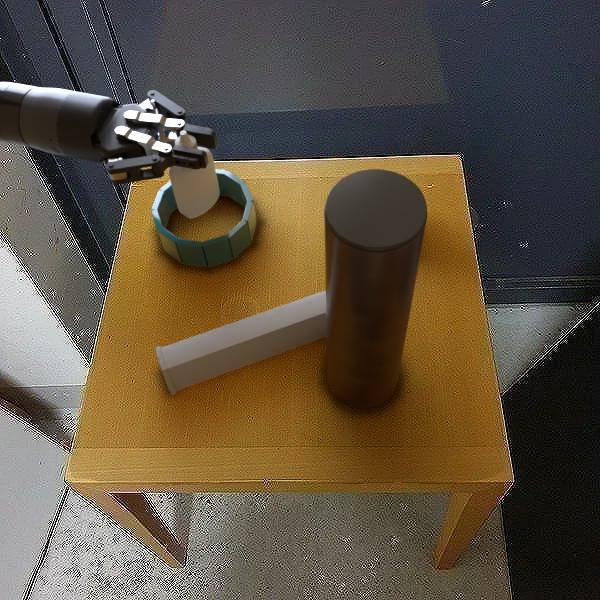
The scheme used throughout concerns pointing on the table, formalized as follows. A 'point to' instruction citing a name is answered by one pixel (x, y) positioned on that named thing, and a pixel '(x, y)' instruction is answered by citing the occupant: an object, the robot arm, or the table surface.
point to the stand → (370, 281)
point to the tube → (243, 342)
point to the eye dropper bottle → (194, 182)
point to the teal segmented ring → (217, 247)
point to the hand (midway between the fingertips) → (210, 150)
